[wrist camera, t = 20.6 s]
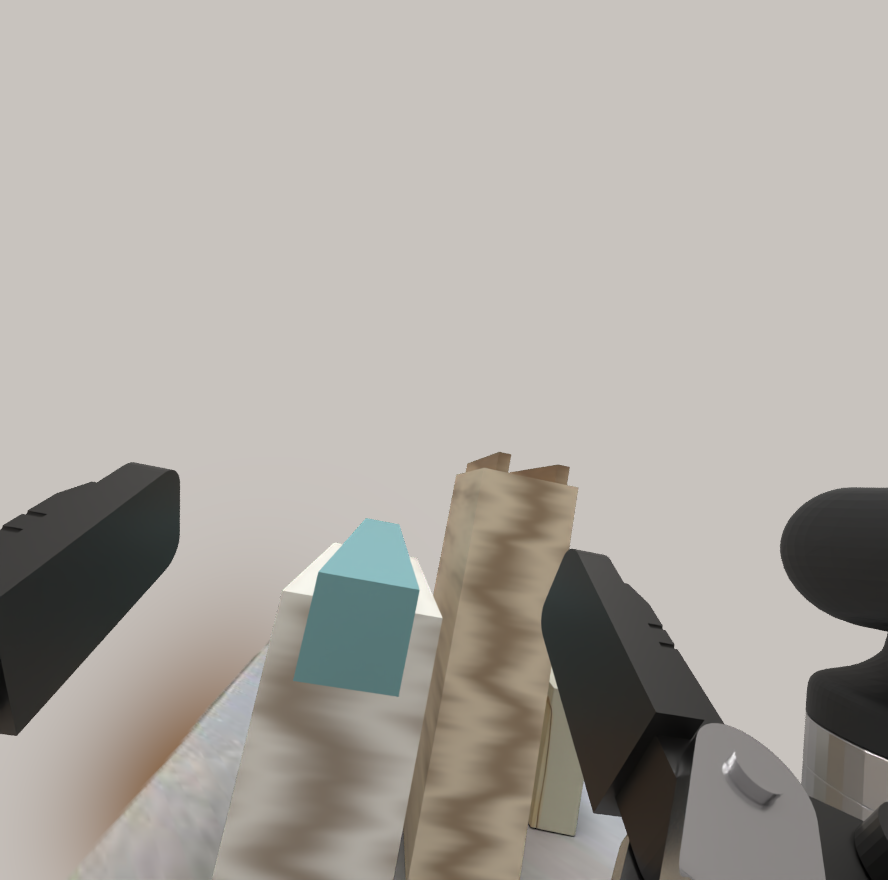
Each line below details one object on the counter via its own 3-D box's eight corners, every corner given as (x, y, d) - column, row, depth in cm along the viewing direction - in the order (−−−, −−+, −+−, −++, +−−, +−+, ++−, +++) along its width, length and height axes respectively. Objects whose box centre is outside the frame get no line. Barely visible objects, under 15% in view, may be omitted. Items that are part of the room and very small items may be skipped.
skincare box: (515, 783, 44) (534, 660, 46) (557, 791, 44) (575, 668, 46) (530, 830, 38) (551, 685, 39) (579, 840, 38) (598, 695, 39)
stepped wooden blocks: (476, 774, 44) (526, 476, 49) (586, 1130, 19) (667, 459, 24) (291, 749, 42) (362, 441, 47) (155, 1109, 18) (332, 384, 22)
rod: (392, 558, 38) (399, 524, 38) (398, 696, 12) (419, 590, 13) (358, 552, 37) (366, 518, 38) (292, 681, 12) (318, 571, 12)
